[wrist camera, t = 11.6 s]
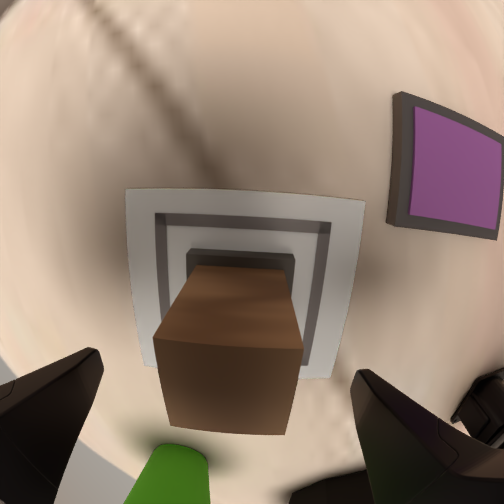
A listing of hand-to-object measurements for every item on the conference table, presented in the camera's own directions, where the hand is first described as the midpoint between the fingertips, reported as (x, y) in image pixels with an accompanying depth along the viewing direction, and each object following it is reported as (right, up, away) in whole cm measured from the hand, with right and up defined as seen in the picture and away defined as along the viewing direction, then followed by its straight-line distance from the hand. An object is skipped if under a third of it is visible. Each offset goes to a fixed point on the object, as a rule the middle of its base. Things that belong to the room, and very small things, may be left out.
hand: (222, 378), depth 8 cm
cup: (-6, -15, +11) cm, 20 cm away
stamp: (0, +2, +6) cm, 6 cm away
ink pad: (+13, +9, +4) cm, 16 cm away
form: (0, +2, +6) cm, 6 cm away
